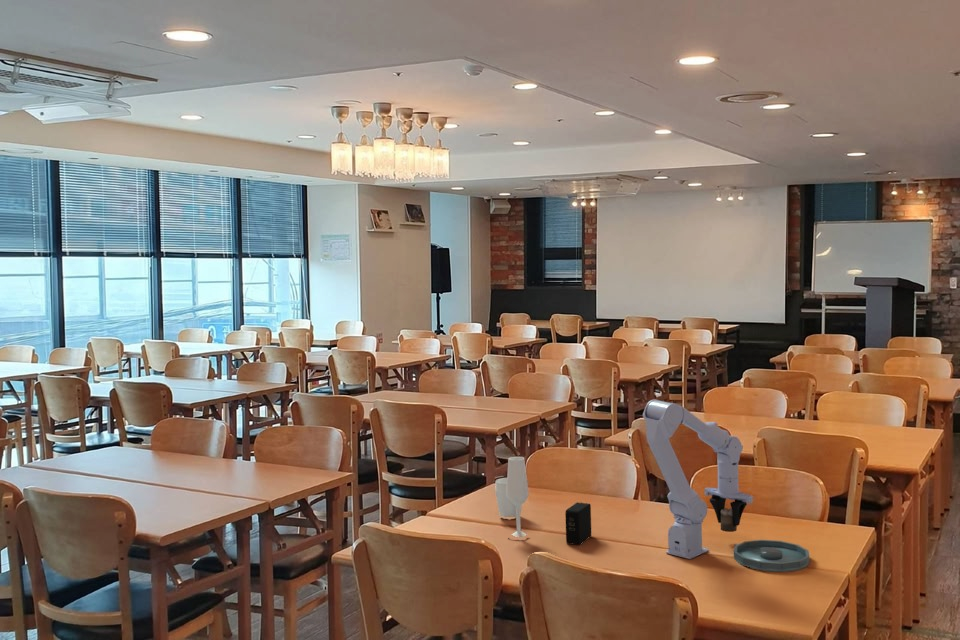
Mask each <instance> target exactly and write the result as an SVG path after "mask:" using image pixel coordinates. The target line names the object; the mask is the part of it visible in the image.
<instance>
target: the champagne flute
mask: <svg viewBox="0 0 960 640" xmlns="http://www.w3.org/2000/svg"><path fill="white" fill-rule="evenodd" d="M507 462H508V463H507V474H506V475H507V477H506V478H507V491H506V496H507V498H508V499H509V501H510V502H511V503H513V504H514V505H515V506H516V520H515V521H516V531H515V532H513V533H512V534H511V535H513V536H515V537H524V536H526V533H525V532H523V531H522V530H521V529H522V528H521V516H520V505H523V504H524V503H526V501H527V499H528V498H529V496H530V494H529V493H530V492H529V485H528V477H527V470H526V461H525V457H523V456H511V457H508V460H507Z"/></svg>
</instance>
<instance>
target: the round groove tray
mask: <svg viewBox="0 0 960 640" xmlns="http://www.w3.org/2000/svg"><path fill="white" fill-rule="evenodd" d="M733 558H734V560H736V561H737V562H738V563H737V564H739V563H740V564H739V565H741V566H743V567H745V566H747V567H746V568H748V567H750V568H749V569H751V568H753V569H752V570H755V569H756V571H763V572H771V573H787V572H788V573H789V572H794V571H795V572H796V571H799V570H803V569H805V568H806V567H808V566H809V564H810V551H809V549H807V548H805V547H803V546H801V545H799V544H796V543H791V542H787V541H783V540H771V539H755V540H747V541H743V542H741V543H738V544H736V545H734V547H733ZM736 561H735V562H736Z"/></svg>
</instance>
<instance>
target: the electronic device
mask: <svg viewBox="0 0 960 640" xmlns="http://www.w3.org/2000/svg"><path fill="white" fill-rule="evenodd" d="M591 509H592V507H591V503H588V502H575V503H574V504H572V505H571V506H570V507H568V508H567V509H566V510H565V513H564V514H565V541H566V542H565V543H566V544H568V543H573V544H572V545H576V544H579V545H578V546H581V545H582V544H583V543H585V542H586V541H587V540H588V539H589V538H588V537H590V536H591V537H592V514H591V513H592V510H591ZM591 537H590V538H591ZM587 538H588V539H587ZM586 539H587V540H586ZM585 540H586V541H585ZM584 541H585V542H584ZM582 542H583V543H582ZM581 543H582V544H581ZM580 544H581V545H580Z"/></svg>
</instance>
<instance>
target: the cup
mask: <svg viewBox="0 0 960 640" xmlns="http://www.w3.org/2000/svg"><path fill="white" fill-rule="evenodd" d="M494 486H495V488H494V491H495V498H496V503H497V508H498V513H499V516H500V515H501V516H504V517H516V506H515V505H514V504H513V503H511V502H510V501H509V499H508V498H507V496H506V491H507V477H502V478H498V479H496V480H495V485H494ZM522 505H523V504H522ZM522 505H520V515H522Z"/></svg>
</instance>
